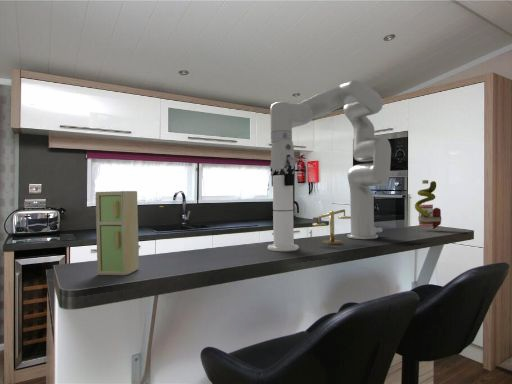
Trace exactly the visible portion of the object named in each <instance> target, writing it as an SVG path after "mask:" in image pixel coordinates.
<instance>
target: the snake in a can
mask: <svg viewBox="0 0 512 384" xmlns="http://www.w3.org/2000/svg"><path fill="white" fill-rule="evenodd" d="M421 182H422V184H423V185H424V184H425V185H427V184H429V180H428V179H424V180H423V179H422V181H421ZM436 188H437V182H436V181H434V180H432V181H431V182H430V184H429V187H428V188H424V189H420V190H417V195H418V196H419V197H424V198H422V199H419V200H418V201H416V202H415V204H414V209H415V210H416V211H417V212H418V216H417V217H418V218H417V219H418V224H419V227H432V228H433V230H434V229H437V228H438V227H439V226H441V224H442V212H441V211H442V210H441V208H440V207H434V205H433V204H425V203H427V202H430V201H433V200H435V199H436V195H435V194H434V193H433V192H435V190H436Z"/></svg>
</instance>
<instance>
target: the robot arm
mask: <svg viewBox="0 0 512 384" xmlns="http://www.w3.org/2000/svg"><path fill="white" fill-rule="evenodd" d="M383 102H384V101H383V99H382V97H381V95H380V94H379V93H378V92H377V91H376V90H374V89H372V88H371V87H370V86H369V85H367V84H366V83H364V82H362V81H361V80H357V79H352V80H349V81H346V82H344V83H341V84H338V85H336V86H334V87H331V88H329V89H327V90H325V91H322V92H320V93H317V94H315V95H313V96H312V97H309V98H307V99H305V100H303V101H301V102H299V103H290V102H286V101H277V102H274V103H272V104H271V106H270V144H271V150H270V151H271V152H270V164H269V170H270V176H271V187H273V176H275V175H280V173H281V170H282V171H284V174H283V175H284V185H285V186H293V187H294V174H295V169H296V167H295V166H296V158H295V150H294V143H293V129H294V128H297V127H300V126H304V125H307V124H308V123H310V122H311V121H312V119H316V118H321V117H322V116H326V115H328V114H330V113H332V112H334V111H336V110H338V109H340V108H342V107H343V113H344V115H345V117H346V118H347V119H348V121H349V122H350V124H351V126H352V128H353V142H352V143H353V144H352V147H353V148H352V157H353V159H354V160H355V161H357V162H371V161H373V162H371V163H359V164H355V165H353V166H351V167H350V168H349V169H348V171H347V181H348V187H349V193H350V194H349V197H350V198H349V199H350V204H349V205H350V217H351V219H350V233H347V238H349V239H353V240H354V239H356V240H376V239H378V237H379V235H378V234H377V233H382V232H383V227H376V226H375V208H374V206H375V205H374V202H375V201H374V199H375V197H374V194H373V192H372V190H371V188H370V187H377V186H379V187H381V186H384V185H386V184H388V181H389V179H390V175H391V163H392V162H391V161H392V159H391V157H392V147H391V143H390V141H389V140H388V139H387V138H386V137H384V136H375V126H374V124H373V123H372V121H371V120H370V119H369V118H368V117H369V116H371V115H373V116H374V115H376V114H378V113H379V112H380V111H381V110H382V109H383V107H384V103H383Z"/></svg>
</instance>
